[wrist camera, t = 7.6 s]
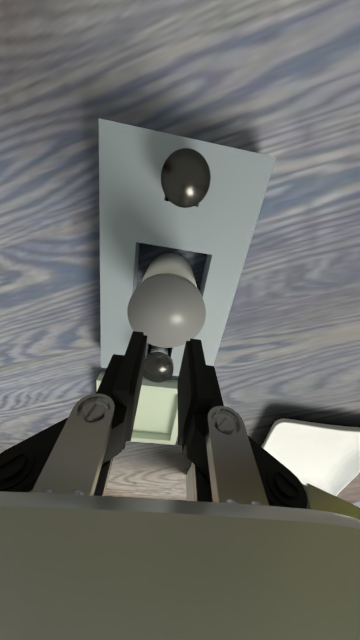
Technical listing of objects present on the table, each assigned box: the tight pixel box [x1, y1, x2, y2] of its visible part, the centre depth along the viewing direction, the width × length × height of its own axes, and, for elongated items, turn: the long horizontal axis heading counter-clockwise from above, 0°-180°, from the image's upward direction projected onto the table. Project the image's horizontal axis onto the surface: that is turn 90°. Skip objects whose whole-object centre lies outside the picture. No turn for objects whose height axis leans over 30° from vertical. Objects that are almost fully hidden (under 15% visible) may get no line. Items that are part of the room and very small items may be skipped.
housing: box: [99, 118, 276, 376], centre depth 23 cm, size 14×24×3 cm, turn 171°
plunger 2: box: [161, 148, 211, 208], centre depth 18 cm, size 4×4×6 cm
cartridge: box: [127, 253, 206, 348], centre depth 20 cm, size 6×6×10 cm
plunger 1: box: [143, 345, 174, 383], centre depth 26 cm, size 4×4×6 cm
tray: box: [96, 372, 178, 445], centre depth 34 cm, size 13×13×2 cm
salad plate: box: [261, 418, 360, 496], centre depth 40 cm, size 21×21×3 cm
